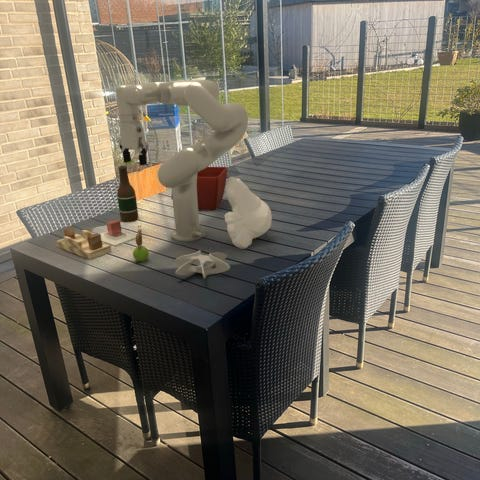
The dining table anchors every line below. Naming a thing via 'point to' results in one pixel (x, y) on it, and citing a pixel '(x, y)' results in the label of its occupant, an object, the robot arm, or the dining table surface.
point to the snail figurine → (140, 248)
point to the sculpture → (201, 264)
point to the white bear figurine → (245, 214)
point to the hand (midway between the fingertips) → (135, 163)
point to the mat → (117, 242)
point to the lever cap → (114, 230)
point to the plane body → (83, 244)
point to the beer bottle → (126, 197)
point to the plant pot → (211, 187)
